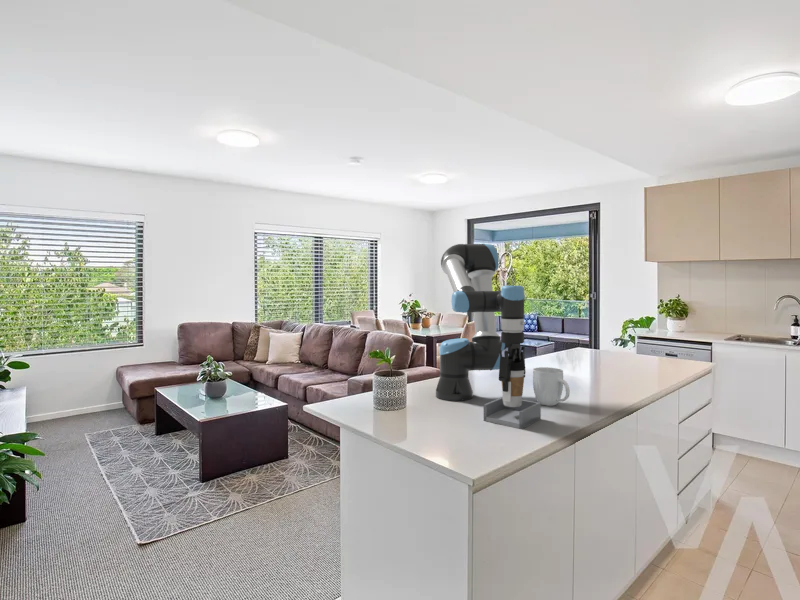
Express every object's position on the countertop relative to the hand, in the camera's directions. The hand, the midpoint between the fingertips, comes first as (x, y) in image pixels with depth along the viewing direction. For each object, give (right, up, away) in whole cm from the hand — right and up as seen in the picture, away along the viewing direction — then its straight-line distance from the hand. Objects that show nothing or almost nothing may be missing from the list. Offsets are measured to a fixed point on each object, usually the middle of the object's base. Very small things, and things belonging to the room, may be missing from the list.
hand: (512, 398), depth 155 cm
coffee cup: (0, -2, 0) cm, 2 cm away
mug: (+19, -7, +20) cm, 28 cm away
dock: (0, -7, 0) cm, 7 cm away
